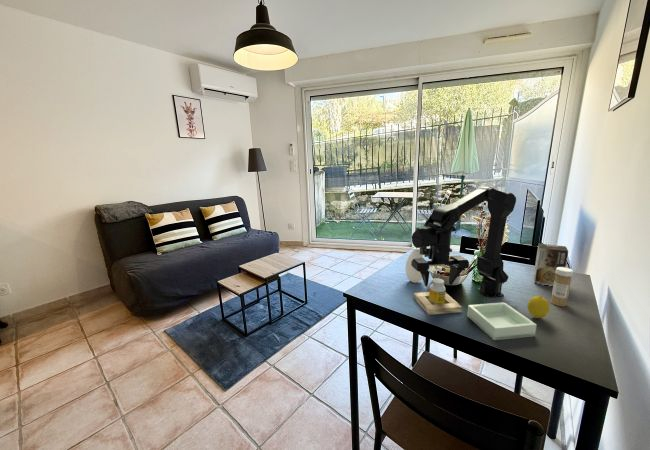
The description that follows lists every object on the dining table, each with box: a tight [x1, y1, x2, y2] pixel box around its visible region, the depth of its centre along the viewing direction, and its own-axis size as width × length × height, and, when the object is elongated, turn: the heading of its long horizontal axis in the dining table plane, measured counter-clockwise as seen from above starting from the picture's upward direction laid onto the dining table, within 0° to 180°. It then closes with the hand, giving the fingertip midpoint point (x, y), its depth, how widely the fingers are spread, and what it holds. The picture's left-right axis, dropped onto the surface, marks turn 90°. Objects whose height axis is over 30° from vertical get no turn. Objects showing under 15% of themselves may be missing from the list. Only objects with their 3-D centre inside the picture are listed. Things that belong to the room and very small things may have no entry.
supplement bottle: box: [428, 277, 446, 305], centre depth 100 cm, size 5×5×10 cm
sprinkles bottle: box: [550, 267, 574, 307], centre depth 98 cm, size 5×5×13 cm
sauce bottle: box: [404, 247, 425, 284], centre depth 117 cm, size 8×8×18 cm
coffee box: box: [532, 243, 569, 286], centre depth 113 cm, size 9×6×16 cm
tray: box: [466, 302, 538, 341], centre depth 87 cm, size 13×13×4 cm
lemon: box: [527, 295, 550, 319], centre depth 90 cm, size 6×6×8 cm
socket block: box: [413, 291, 463, 316], centre depth 101 cm, size 12×12×2 cm
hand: (438, 285), depth 99 cm, fingers open, 9 cm apart
